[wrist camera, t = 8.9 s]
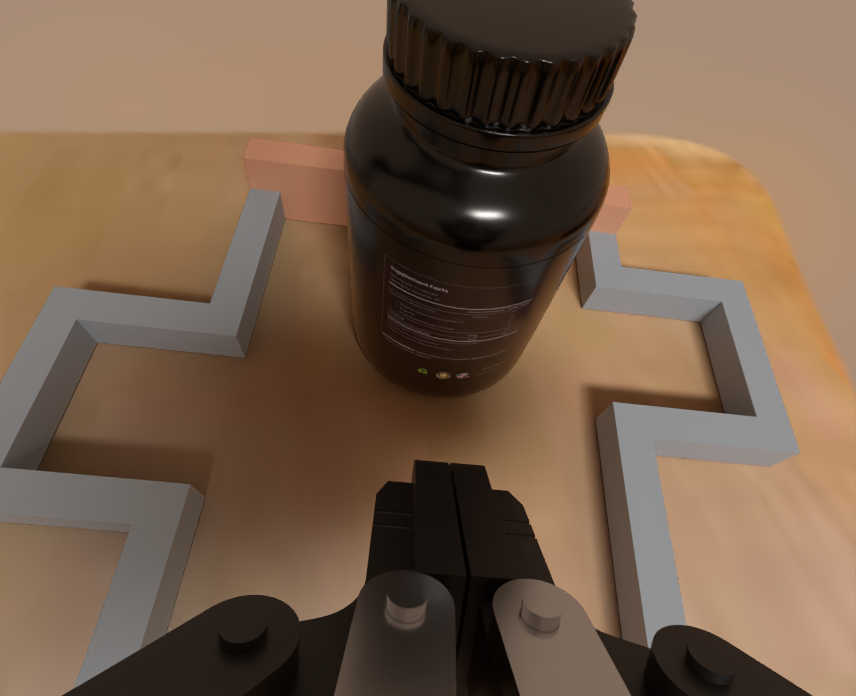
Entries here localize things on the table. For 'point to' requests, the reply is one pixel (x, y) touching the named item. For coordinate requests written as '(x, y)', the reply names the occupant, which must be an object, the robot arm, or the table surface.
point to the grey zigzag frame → (230, 336)
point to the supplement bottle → (475, 179)
